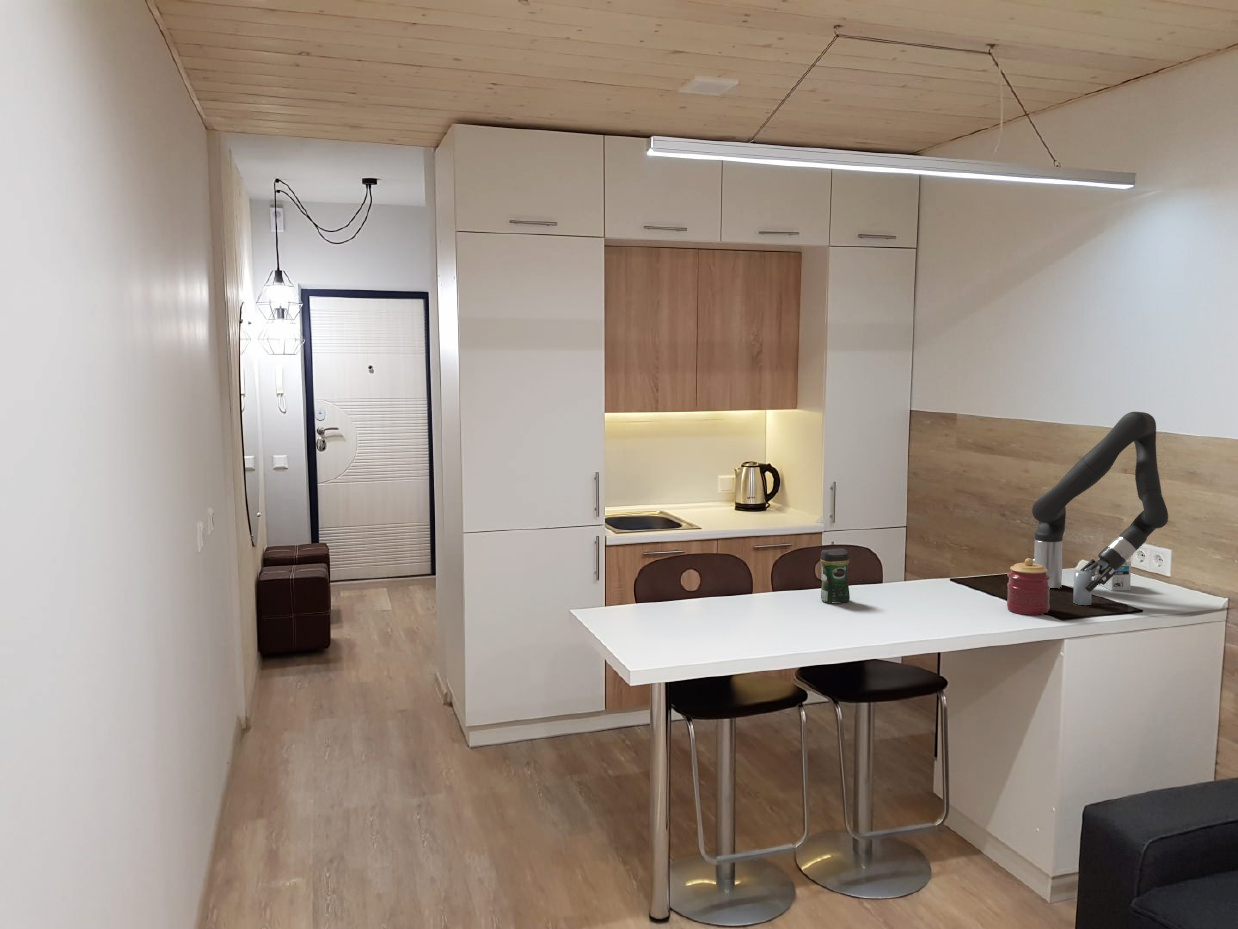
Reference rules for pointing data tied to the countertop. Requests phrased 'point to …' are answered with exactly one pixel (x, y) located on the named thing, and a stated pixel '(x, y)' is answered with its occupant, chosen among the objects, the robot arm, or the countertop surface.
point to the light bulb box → (1120, 578)
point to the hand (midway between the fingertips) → (1081, 587)
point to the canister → (1028, 588)
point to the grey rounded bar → (1082, 587)
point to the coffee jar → (835, 575)
